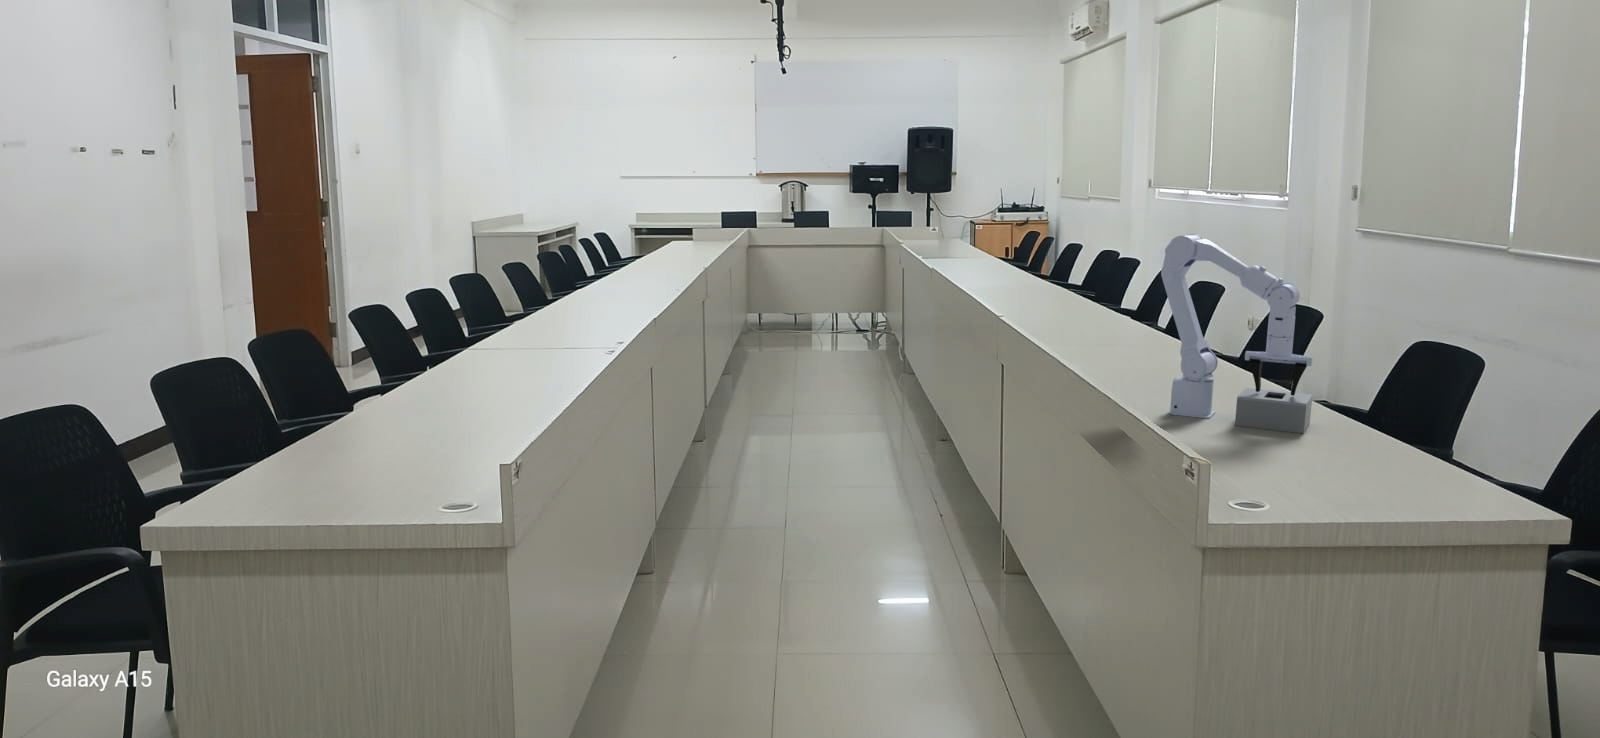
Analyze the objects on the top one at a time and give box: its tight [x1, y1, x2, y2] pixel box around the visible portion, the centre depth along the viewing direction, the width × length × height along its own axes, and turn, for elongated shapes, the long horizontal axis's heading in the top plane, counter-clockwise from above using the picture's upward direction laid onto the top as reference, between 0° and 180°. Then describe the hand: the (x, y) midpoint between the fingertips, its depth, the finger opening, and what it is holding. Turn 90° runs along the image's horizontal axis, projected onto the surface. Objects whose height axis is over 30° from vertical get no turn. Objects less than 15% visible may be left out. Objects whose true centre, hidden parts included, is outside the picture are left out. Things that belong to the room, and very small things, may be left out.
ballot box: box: [1234, 387, 1313, 434], centre depth 274 cm, size 15×12×7 cm
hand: (1275, 392), depth 273 cm, fingers open, 7 cm apart
